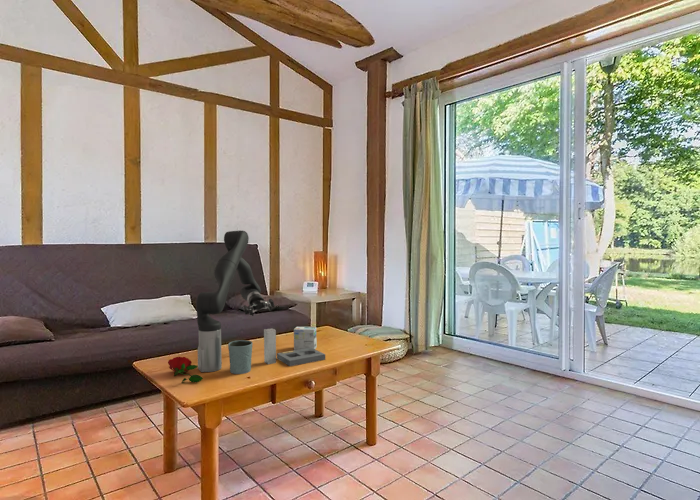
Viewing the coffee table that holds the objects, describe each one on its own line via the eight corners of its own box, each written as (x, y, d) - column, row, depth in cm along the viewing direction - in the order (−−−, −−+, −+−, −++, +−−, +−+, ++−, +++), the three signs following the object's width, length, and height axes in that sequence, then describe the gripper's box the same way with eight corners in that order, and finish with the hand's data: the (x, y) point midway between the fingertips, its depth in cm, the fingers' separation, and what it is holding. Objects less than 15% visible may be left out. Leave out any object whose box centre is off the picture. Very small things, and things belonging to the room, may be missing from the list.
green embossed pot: (243, 365, 188) (243, 338, 188) (257, 370, 182) (257, 342, 182) (223, 371, 181) (223, 343, 180) (238, 376, 174) (237, 347, 174)
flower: (206, 358, 161) (175, 349, 183) (185, 375, 156) (156, 364, 177) (218, 376, 164) (186, 366, 186) (198, 394, 158) (167, 380, 180)
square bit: (267, 364, 190) (267, 331, 190) (264, 362, 194) (263, 329, 193) (276, 363, 192) (275, 330, 192) (272, 360, 196) (272, 328, 195)
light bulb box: (316, 347, 219) (316, 326, 219) (314, 350, 212) (314, 329, 212) (296, 346, 220) (296, 326, 220) (293, 350, 213) (293, 329, 213)
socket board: (289, 366, 187) (289, 360, 187) (276, 358, 199) (276, 352, 199) (325, 359, 197) (325, 353, 197) (311, 352, 209) (311, 347, 209)
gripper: (239, 297, 212) (244, 308, 197) (268, 290, 216) (274, 299, 201) (243, 311, 214) (248, 322, 199) (271, 303, 218) (277, 314, 203)
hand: (261, 311), depth 200 cm, fingers open, 8 cm apart
